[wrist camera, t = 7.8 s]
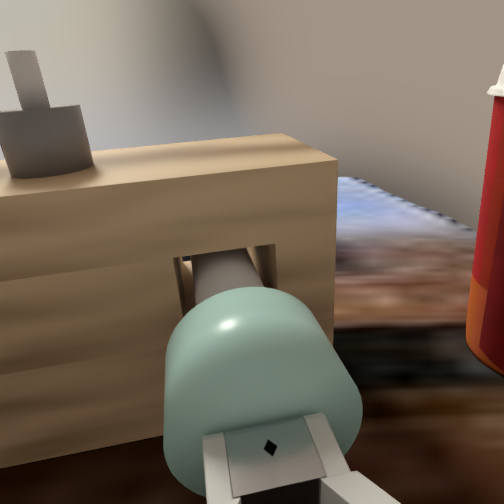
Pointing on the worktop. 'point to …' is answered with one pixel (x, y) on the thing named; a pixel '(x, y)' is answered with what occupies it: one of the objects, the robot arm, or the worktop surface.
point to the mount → (141, 276)
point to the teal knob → (247, 365)
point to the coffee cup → (490, 251)
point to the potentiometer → (40, 127)
